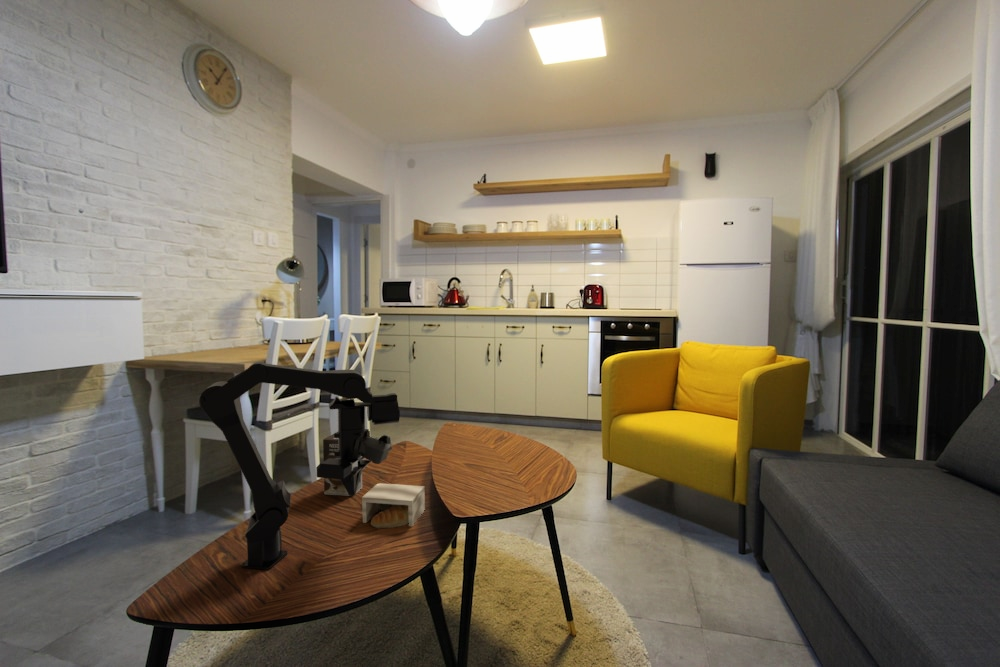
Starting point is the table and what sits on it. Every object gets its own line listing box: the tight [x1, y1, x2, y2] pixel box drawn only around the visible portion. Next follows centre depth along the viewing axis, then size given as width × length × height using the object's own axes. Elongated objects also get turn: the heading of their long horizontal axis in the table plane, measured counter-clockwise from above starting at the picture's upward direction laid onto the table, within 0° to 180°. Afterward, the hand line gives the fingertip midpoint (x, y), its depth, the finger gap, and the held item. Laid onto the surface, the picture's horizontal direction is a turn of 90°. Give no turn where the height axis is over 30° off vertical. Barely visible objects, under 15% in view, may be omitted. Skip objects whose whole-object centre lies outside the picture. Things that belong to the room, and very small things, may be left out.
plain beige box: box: [361, 483, 426, 527], centre depth 114 cm, size 9×13×6 cm
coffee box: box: [322, 433, 363, 497], centre depth 130 cm, size 9×6×16 cm
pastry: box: [370, 505, 409, 529], centre depth 111 cm, size 9×7×4 cm
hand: (352, 495), depth 101 cm, fingers closed
